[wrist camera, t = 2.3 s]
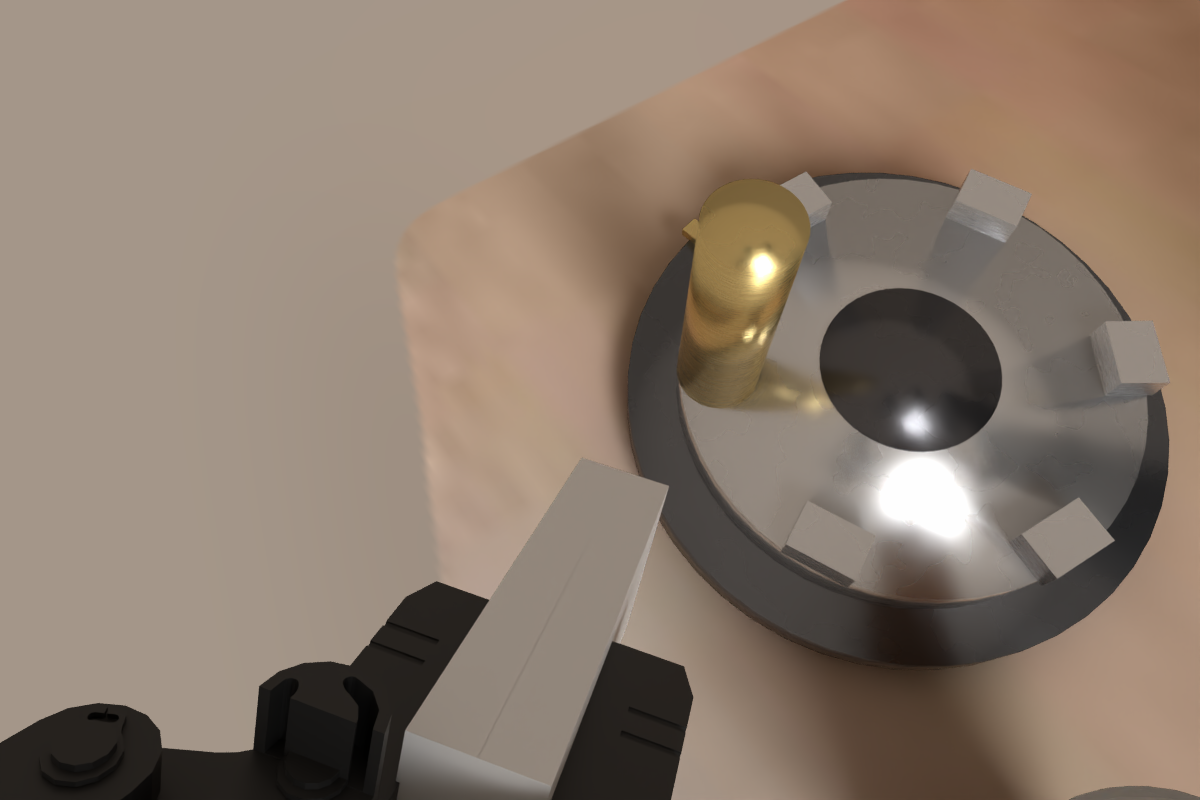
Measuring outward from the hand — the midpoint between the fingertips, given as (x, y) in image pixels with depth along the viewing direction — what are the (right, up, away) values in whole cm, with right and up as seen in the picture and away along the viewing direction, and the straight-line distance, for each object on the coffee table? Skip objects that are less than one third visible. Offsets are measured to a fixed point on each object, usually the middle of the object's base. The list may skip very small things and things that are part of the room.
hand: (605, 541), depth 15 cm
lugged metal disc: (+12, +3, +22) cm, 25 cm away
